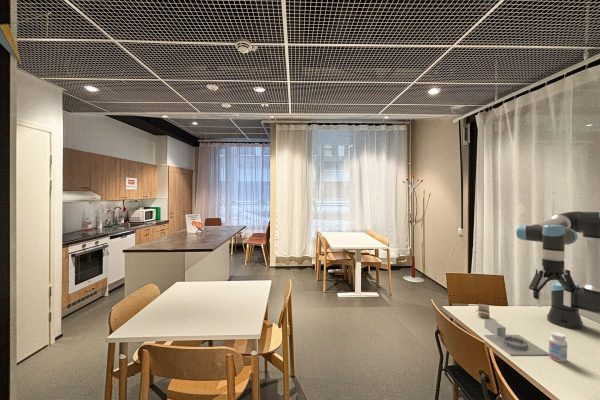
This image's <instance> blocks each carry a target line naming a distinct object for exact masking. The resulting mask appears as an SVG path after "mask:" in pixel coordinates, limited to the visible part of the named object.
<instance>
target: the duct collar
mask: <svg viewBox="0 0 600 400" xmlns="http://www.w3.org/2000/svg"><path fill="white" fill-rule="evenodd" d="M484 328H485V329H487V330H488V331H489V332H490V333H492V334H484V335H483V336H484V337H485V338H486V339H487V340H489V341H491V343H493V344H494V345H496V346H497V347H498V348H500V349H502V351H504V352H505V353H507V354H508V355H510V356H549V352H548V351H545V350H544V349H543V348H541V347H540V346H537V345H536V344H534V343H532V342H531V341H529V340H528V339H526V338H525V337H523V336H521V335H520V334H507V333H506V332H507V330H506V329H507V328H506V326H504V325H502V324H500V323H499V322H497V321H496V320H494V319H491V318H488V319H486V318H485V319H484Z"/></svg>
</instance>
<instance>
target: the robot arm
mask: <svg viewBox="0 0 600 400" xmlns="http://www.w3.org/2000/svg"><path fill="white" fill-rule="evenodd" d="M515 233H516V237H517V238H518V239H519V240H521V241H529V242H537V243H538V242H540V243H542V254H541V257H542V259H541V260H542V261H541V265H542V268H543V269H538V268H536V270H535V274H534V276H533V278H532V280H531V282H530V284H529V286H528V289H529V290H531V291H533V295H532V296H533V297H532V298H533V299H534V306H537V307H539V308H542V291H541V290H542V289H543V288H544V287H545V286H546V285H547V283H548V282H550V281H556V282H553V283H552V284H551V288H550V292H551V293H550V295H551V296H550V301H551V302H550V303H551V306H550V308H549V311H548V313H547V315H546V318H547V320H546V321H548V322H550V323H551V324H554V325H557V326H559V327H563V328H569V329H583V328H584V322H583V321H582V317H581V314H580V310H581V311H586V312H590V313H594V314H596V315H599V316H600V211H569V212H568V211H567V212H562V213H559V214H557V215H553V216H552V217H550V219H547V220H544V221H540V222H537V223H535V224H531V225H526V224H524V225H522V224H521V225H519V226H517V228H516V231H515ZM577 233H582V237H583V238H584V239H585V240H586V283H585V284H583V285H582V287H580V284H578V283H576V282H574V280H573V278H572V276H571V271H570V270H569V269H566V268H565V252H566V251H565V250H566V249H565V248H566V246H567V245H572V244H574V243H576V242H577V240H578V238H579V236H578V234H577Z"/></svg>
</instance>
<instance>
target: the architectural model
mask: <svg viewBox="0 0 600 400" xmlns="http://www.w3.org/2000/svg"><path fill="white" fill-rule="evenodd" d="M477 307H478V308H477V309H475V312H476V313H478V316H481V317H484V318H487V317H488V318H490V305H488V304H483V303H482V304H481V303H478V306H477Z"/></svg>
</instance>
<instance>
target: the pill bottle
mask: <svg viewBox="0 0 600 400" xmlns="http://www.w3.org/2000/svg"><path fill="white" fill-rule="evenodd" d="M550 335H551V336H550V337H549V338H548V353H549V355H548V357H549V359H551V360H553V361H556V362H558V363H566V362H567V361H568V342H567V341H566V335H565V334H563V333H561V332H558V331H551V332H550Z"/></svg>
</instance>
